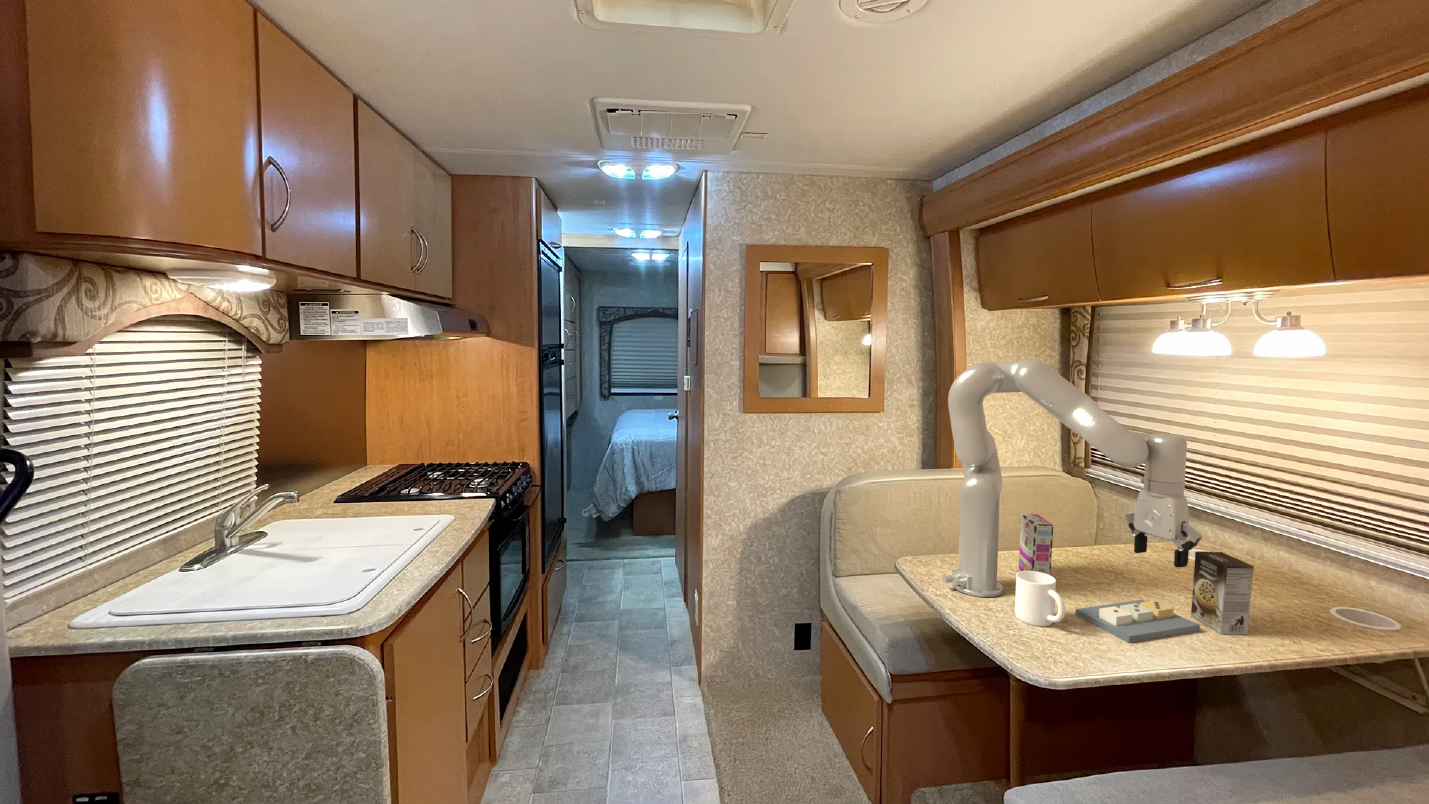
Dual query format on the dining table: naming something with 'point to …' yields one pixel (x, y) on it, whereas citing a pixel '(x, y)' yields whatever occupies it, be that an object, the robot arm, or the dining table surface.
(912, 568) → the dining table surface
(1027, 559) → the candy bar box
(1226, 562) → the coffee box
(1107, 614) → the tile
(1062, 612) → the mug
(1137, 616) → the tile
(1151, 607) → the tile
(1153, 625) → the board
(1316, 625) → the dining table surface
